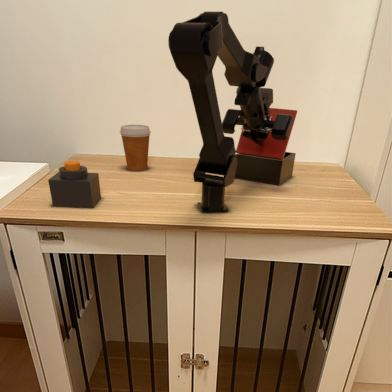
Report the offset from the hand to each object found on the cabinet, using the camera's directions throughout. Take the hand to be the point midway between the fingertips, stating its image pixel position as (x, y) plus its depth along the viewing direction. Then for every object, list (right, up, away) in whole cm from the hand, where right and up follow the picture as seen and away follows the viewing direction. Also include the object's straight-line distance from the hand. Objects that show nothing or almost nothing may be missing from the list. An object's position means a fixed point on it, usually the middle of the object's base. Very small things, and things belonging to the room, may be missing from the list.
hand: (261, 144), depth 118 cm
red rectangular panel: (+1, +4, 0) cm, 4 cm away
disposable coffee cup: (-38, -1, +14) cm, 41 cm away
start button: (-49, -16, -19) cm, 55 cm away
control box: (-49, -22, -15) cm, 56 cm away
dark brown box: (+2, -5, +10) cm, 11 cm away
